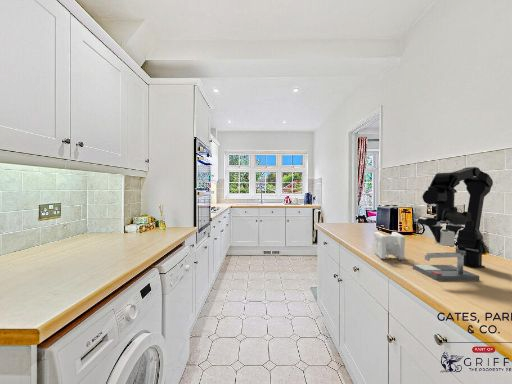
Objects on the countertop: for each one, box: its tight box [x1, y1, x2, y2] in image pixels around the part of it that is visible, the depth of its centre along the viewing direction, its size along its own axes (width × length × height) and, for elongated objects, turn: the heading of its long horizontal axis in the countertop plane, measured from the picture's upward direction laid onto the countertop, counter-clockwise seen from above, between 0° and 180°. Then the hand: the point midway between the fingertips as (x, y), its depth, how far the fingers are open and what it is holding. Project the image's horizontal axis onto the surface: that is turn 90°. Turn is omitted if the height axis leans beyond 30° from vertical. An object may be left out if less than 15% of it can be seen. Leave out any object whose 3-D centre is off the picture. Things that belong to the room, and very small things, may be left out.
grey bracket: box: [424, 249, 466, 274], centre depth 94 cm, size 3×16×9 cm, turn 99°
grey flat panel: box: [412, 264, 480, 281], centre depth 100 cm, size 16×14×2 cm
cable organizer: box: [373, 231, 406, 261], centre depth 124 cm, size 15×11×12 cm
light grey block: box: [434, 228, 456, 247], centre depth 103 cm, size 4×4×6 cm
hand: (444, 242), depth 103 cm, fingers closed on light grey block, 4 cm apart
